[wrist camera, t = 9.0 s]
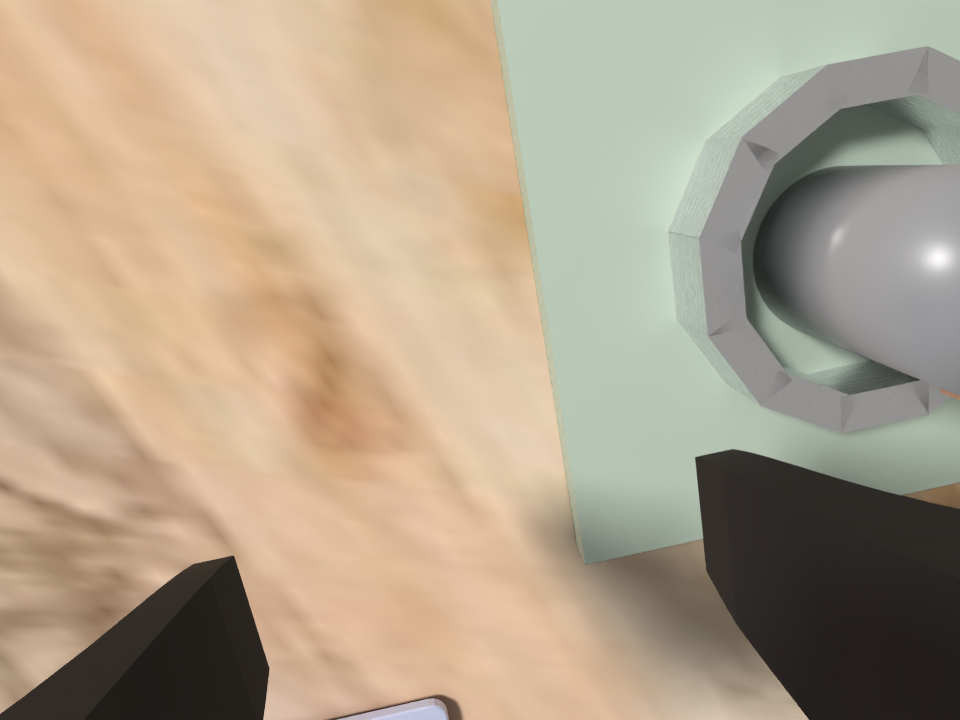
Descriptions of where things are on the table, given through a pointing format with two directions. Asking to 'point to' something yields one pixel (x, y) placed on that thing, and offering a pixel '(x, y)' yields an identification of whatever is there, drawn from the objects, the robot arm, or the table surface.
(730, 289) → the duct collar
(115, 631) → the robot arm
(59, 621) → the table surface
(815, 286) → the grey rounded block
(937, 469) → the plate
